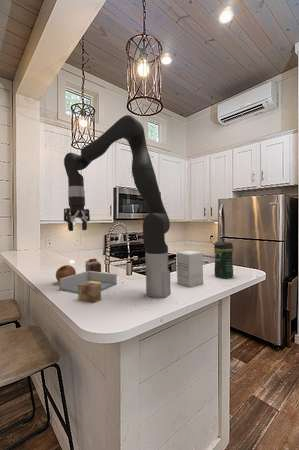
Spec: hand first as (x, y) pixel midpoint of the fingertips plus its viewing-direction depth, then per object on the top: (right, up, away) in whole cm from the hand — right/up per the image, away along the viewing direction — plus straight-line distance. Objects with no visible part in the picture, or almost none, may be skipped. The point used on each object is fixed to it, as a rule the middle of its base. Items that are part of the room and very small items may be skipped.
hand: (77, 230), depth 111 cm
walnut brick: (+11, -26, -21) cm, 35 cm away
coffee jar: (+73, -25, +12) cm, 78 cm away
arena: (+6, -26, -4) cm, 27 cm away
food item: (+3, -26, +18) cm, 32 cm away
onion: (-7, -26, +5) cm, 28 cm away
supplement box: (+53, -25, 0) cm, 59 cm away
